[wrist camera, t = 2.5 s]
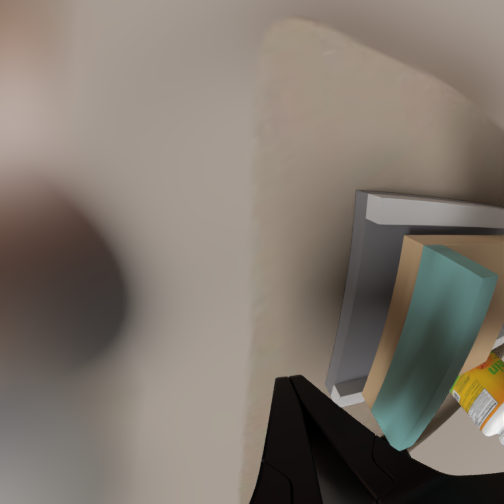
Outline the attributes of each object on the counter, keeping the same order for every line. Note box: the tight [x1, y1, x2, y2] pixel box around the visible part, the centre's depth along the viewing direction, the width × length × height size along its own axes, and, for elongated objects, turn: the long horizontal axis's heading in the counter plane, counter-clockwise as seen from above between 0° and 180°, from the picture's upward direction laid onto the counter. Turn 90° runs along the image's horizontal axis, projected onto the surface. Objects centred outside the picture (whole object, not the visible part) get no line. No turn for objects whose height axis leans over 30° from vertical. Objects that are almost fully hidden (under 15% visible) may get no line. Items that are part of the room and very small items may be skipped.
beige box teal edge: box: [361, 235, 504, 451], centre depth 10 cm, size 8×10×5 cm
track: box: [325, 190, 504, 407], centre depth 13 cm, size 11×22×2 cm, turn 89°
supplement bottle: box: [449, 351, 504, 446], centre depth 13 cm, size 5×5×10 cm
